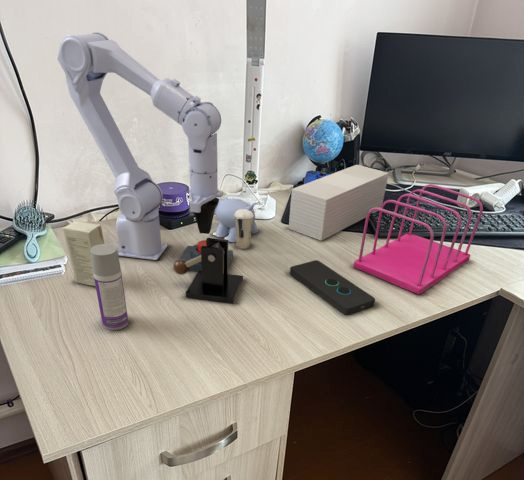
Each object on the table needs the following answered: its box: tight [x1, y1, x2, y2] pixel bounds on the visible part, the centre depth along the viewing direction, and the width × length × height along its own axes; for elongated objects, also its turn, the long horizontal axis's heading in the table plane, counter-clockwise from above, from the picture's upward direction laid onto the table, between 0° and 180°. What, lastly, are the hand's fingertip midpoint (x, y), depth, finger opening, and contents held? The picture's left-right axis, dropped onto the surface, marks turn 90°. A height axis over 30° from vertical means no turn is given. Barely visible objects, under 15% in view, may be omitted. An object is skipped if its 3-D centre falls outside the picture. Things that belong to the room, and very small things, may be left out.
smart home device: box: [289, 259, 376, 316], centre depth 104 cm, size 8×2×20 cm
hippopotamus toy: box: [212, 197, 259, 243], centre depth 124 cm, size 11×15×10 cm
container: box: [90, 243, 129, 331], centre depth 86 cm, size 5×5×15 cm
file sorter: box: [352, 183, 484, 295], centre depth 111 cm, size 17×25×16 cm
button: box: [196, 239, 206, 253], centre depth 109 cm, size 4×4×2 cm
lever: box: [172, 242, 225, 276], centre depth 99 cm, size 12×3×3 cm
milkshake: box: [234, 209, 253, 250], centre depth 117 cm, size 4×5×10 cm
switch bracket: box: [185, 237, 244, 304], centre depth 99 cm, size 10×10×10 cm
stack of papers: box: [287, 164, 390, 242], centre depth 134 cm, size 32×11×11 cm, turn 140°
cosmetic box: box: [62, 220, 105, 287], centre depth 99 cm, size 6×4×12 cm
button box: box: [177, 243, 234, 272], centre depth 111 cm, size 11×9×4 cm
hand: (205, 232), depth 107 cm, fingers closed
